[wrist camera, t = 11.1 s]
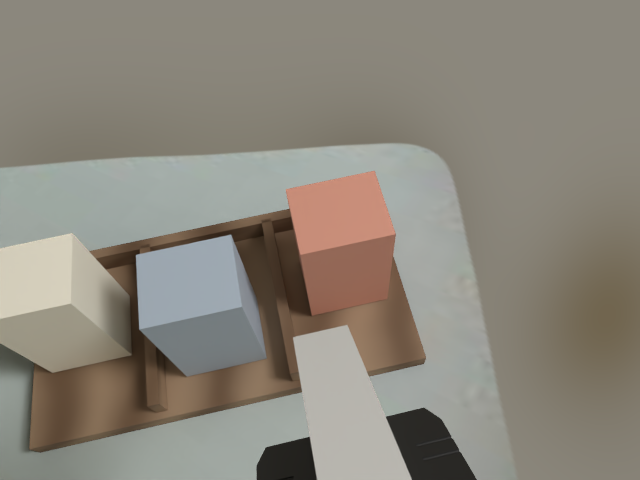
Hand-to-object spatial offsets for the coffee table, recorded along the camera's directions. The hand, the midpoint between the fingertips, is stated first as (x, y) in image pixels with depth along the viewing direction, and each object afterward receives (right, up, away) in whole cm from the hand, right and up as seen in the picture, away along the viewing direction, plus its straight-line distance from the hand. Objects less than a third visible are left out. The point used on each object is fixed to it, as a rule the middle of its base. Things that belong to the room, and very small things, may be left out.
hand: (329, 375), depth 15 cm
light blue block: (-8, -4, +26) cm, 28 cm away
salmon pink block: (+1, +1, +28) cm, 28 cm away
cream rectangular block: (-18, -4, +27) cm, 33 cm away
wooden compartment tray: (-8, -3, +29) cm, 30 cm away
